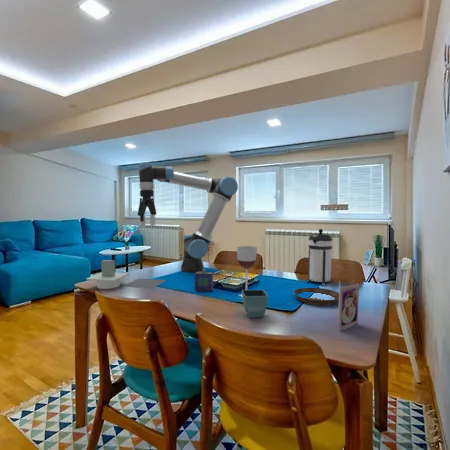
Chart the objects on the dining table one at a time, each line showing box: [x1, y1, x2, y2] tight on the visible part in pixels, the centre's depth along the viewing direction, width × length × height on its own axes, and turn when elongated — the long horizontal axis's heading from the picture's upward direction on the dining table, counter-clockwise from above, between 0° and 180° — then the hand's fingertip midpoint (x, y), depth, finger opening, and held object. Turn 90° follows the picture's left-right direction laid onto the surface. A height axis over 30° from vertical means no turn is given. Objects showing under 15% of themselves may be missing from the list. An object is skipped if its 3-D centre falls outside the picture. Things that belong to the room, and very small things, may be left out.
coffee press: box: [305, 228, 334, 285], centre depth 167 cm, size 17×16×30 cm
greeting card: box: [337, 279, 360, 331], centre depth 106 cm, size 11×7×15 cm, turn 126°
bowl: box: [96, 278, 121, 290], centre depth 154 cm, size 11×11×5 cm
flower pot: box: [241, 289, 269, 319], centre depth 114 cm, size 9×9×9 cm
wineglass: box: [236, 245, 258, 297], centre depth 139 cm, size 9×10×23 cm
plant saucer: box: [293, 287, 339, 306], centre depth 135 cm, size 21×21×3 cm
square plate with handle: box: [85, 259, 130, 281], centre depth 154 cm, size 15×15×9 cm
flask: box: [194, 268, 214, 292], centre depth 148 cm, size 9×3×11 cm, turn 88°
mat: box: [122, 278, 167, 289], centre depth 160 cm, size 17×17×1 cm
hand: (148, 226), depth 173 cm, fingers open, 13 cm apart
